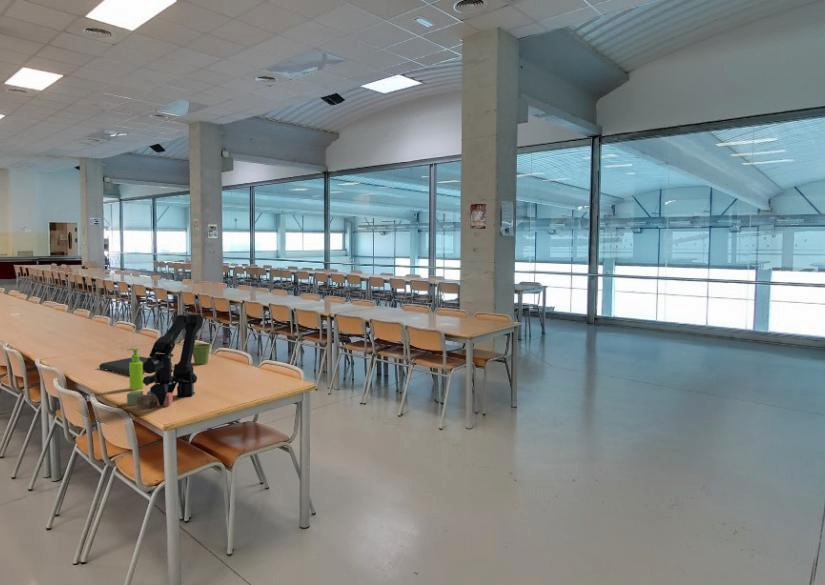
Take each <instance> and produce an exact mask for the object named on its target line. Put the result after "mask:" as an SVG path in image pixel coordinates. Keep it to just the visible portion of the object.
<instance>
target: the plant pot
mask: <svg viewBox="0 0 825 585" xmlns="http://www.w3.org/2000/svg"><path fill="white" fill-rule="evenodd" d="M211 346H212V344H211V343H195V344H194V349H193V355H192V358H193V362H194V364H195V365H197V364H199V365H202V364H203V365H206V364H205V363H207V364H208V361H209V355H210V350H211Z"/></svg>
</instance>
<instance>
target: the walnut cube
mask: <svg viewBox="0 0 825 585" xmlns="http://www.w3.org/2000/svg"><path fill="white" fill-rule="evenodd" d="M152 405H153V406H154V403H153V395H147V394H143V395H140V396H139V397H137V405H136V409H137V410H142V409H141V408H149V409H151V408H152V407H153V406H152ZM151 406H152V407H151ZM150 407H151V408H150Z"/></svg>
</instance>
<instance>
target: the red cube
mask: <svg viewBox="0 0 825 585" xmlns="http://www.w3.org/2000/svg"><path fill="white" fill-rule="evenodd" d="M173 394H174V392H173V393H167V395H166V398H165V402H164V404H163V406H169V407H170V406H172V405H173V404H174V399H173V397H174V395H173ZM172 403H173V404H172ZM156 404H157V405H156V406H160V404H159V401H158V398H157V403H156ZM171 404H172V405H171Z"/></svg>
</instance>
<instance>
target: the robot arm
mask: <svg viewBox="0 0 825 585" xmlns="http://www.w3.org/2000/svg"><path fill="white" fill-rule="evenodd" d="M203 323H204V317H203V315H201V314H200V313H187V314H178V315H176V319H175V320H174V322H173V323H172V325H171V326H170V327H169V329H168V330H167V331H166V333H165V334H164V335H162V336H160V337H158V338H157V339H156V340H155V342H154V344H153V345H152V347H151V348H152V349H151V350H150V354H149V355H148V356H149V357H146V358H147V361H146V362H145V363H144V365H143V369H144V371H145V372H146V373H148V374H149V375H148V374H147V376H143V385H145V386H149V385H151V384H153V385H152V386H151V387H150V388H149V391H150V392H152V393H153V394H155V395H156V396H157V398H158V401H159V404H160V406H163V404H164V402H165V398H166V395H167V393H173V394H174V391H175V389H176V397H178V398H182V397H183V398H185V397H193V395H194V394H195V393H196V391H194V390H195V388H194V386H195V385H194V384H196V382H197V380H198V376H197V375H196V374H195V373H194V367H193V363H192V360H193V349H194V344H196V343H195V342H196V339H197V338H196V337H197V334H198V331H200V330H201V328H202V325H203ZM183 330H184V331H185V332H184V337H183V342H182V347H181V348H182V349H181V354H180V359H179V362H178V363H175V364H174V366H173V368H172V369H171V363H172V357H173V358H174V354H173V353H172V352H173V351H174V350H175V346H176V340H177V338H178V337H179V336H180V334H181V332H183Z"/></svg>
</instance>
